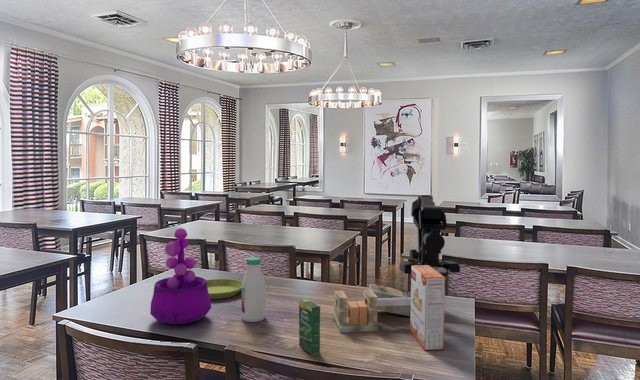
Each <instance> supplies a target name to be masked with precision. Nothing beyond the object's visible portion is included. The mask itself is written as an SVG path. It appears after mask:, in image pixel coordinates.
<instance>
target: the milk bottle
mask: <svg viewBox="0 0 640 380" xmlns="http://www.w3.org/2000/svg"><path fill="white" fill-rule="evenodd" d="M261 263H262V259H261V257H257V256H256V257H255V256H253V257H252V256H251V257H247V258H246V272H245V273H244V276H243V279H242V281H241V282H242V289H241V320H242V321H244V322H246V323H247V322H248V323H258V322H261V321H264V320H265V318H266V281H265V278H264V274H263V273H262V270H261V265H262V264H261Z"/></svg>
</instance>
